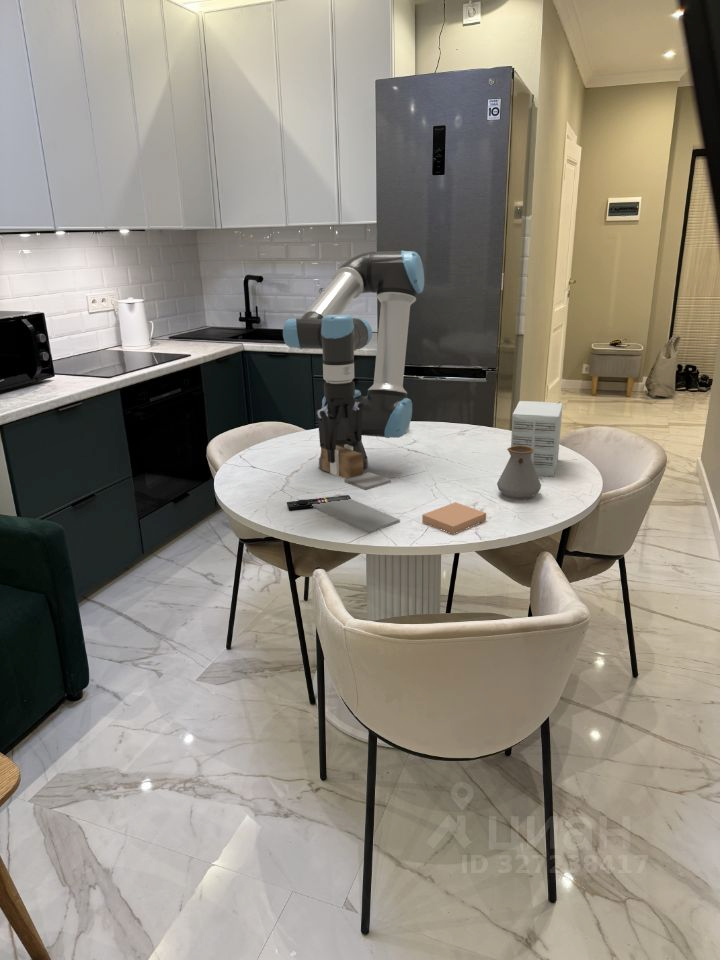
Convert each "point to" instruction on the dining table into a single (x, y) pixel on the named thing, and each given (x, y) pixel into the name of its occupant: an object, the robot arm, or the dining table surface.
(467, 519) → the tile
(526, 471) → the coffee pot
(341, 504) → the rest mat
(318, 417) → the robot arm
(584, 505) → the dining table surface
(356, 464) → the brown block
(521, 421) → the supplement box
